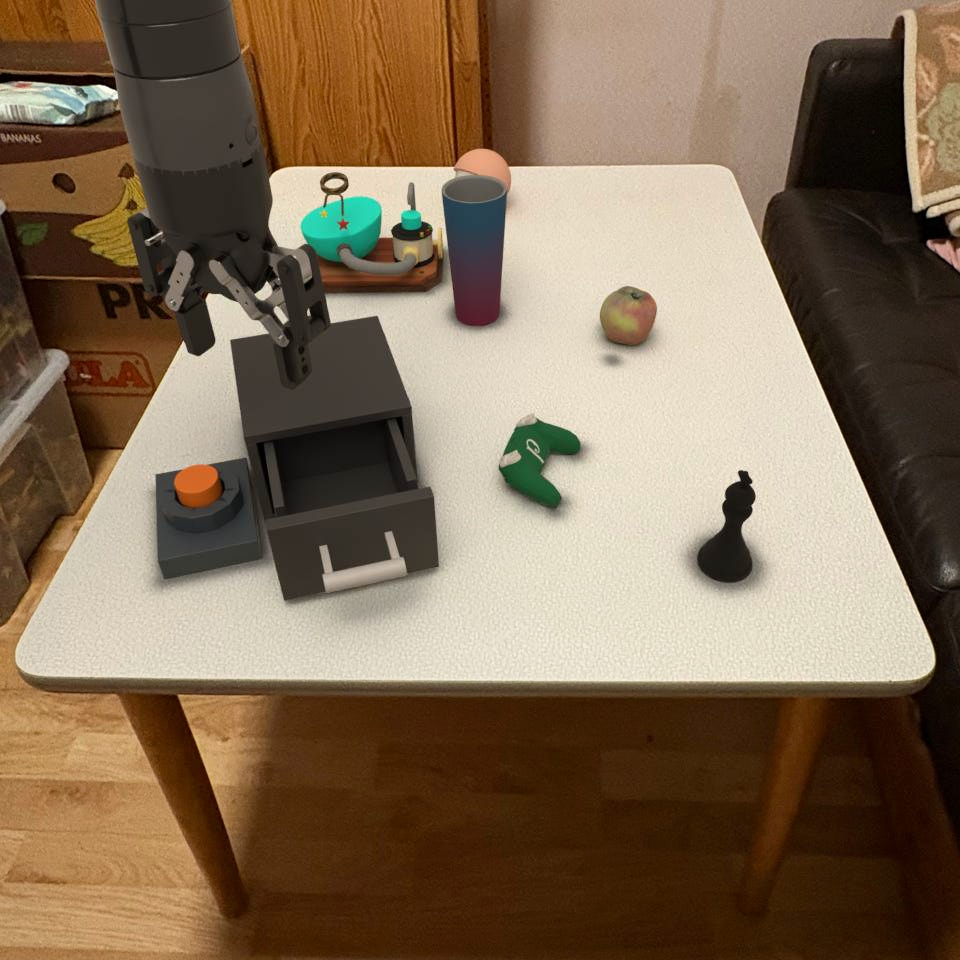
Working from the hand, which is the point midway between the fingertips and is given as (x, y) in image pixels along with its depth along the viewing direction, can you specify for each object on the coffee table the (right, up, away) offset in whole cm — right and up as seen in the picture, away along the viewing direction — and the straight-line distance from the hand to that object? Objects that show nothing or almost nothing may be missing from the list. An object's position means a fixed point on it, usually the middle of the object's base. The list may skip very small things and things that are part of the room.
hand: (248, 366), depth 65 cm
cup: (+16, +11, +40) cm, 44 cm away
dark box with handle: (+6, -13, +11) cm, 18 cm away
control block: (-7, -12, +15) cm, 20 cm away
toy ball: (+17, +29, +60) cm, 69 cm away
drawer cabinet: (+2, -6, +21) cm, 22 cm away
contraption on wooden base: (+3, +17, +47) cm, 50 cm away
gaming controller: (+22, -8, +19) cm, 30 cm away
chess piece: (+36, -15, +10) cm, 41 cm away
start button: (-7, -9, +12) cm, 17 cm away
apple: (+32, +7, +35) cm, 48 cm away
